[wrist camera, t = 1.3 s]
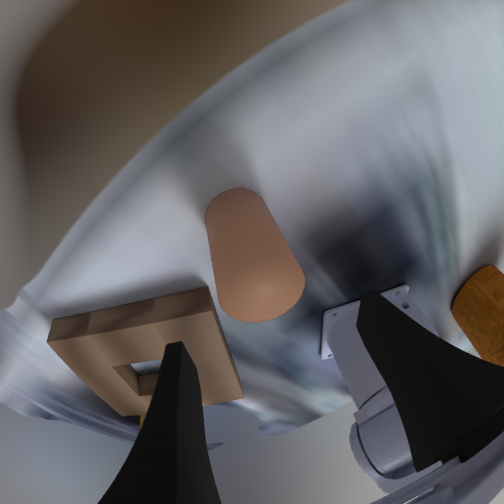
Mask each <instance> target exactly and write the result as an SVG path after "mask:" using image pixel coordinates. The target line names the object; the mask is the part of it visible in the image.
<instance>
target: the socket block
mask: <svg viewBox="0 0 504 504" xmlns="http://www.w3.org/2000/svg"><path fill="white" fill-rule="evenodd" d="M179 341H182V342H183V344H184V345H185V347H186V349H187V351H188V353H189V355H190V357H191V359H192V360H193V362H194V364H195V366H196V368H197V371H198V377H199V382H200V387H201V394H202V406H206V405H212V404H217V403H223V402H227V401H232V400H237V399H241V398H244V395H243V390H242V386H241V382H240V378H239V375H238V372H237V369H236V367H235V364H234V361H233V358H232V355H231V353H230V350H229V347H228V344H227V341H226V338H225V335H224V332H223V330H222V327H221V324H220V321H219V318H218V315H217V312H216V309H215V306H214V303H213V299H212V296H211V293H210V290H209V287H208V286H206V287H202V288H198V289H193V290H189V291H185V292H180V293H176V294H172V295H167V296H163V297H158V298H154V299H149V300H145V301H140V302H136V303H131V304H126V305H122V306H117V307H112V308H108V309H103V310H98V311H93V312H88V313H84V314H79V315H74V316H69V317H64V318H59V319H54V320H53V322H52V325H51V329H50V332H49V335H48V339H47V343H48V344H49V346H50V347H51V348H52V349H53V350H54V351H55V352H56V353H57V355H58V356H59V357H60V358H61V359H62V360H63V361H64V362H65V363H66V364H67V365H68V366H69V367H70V368H71V370H72V371H73V372H74V373H75V374H76V375H77V376H78V377H79V378H80V379H81V380H82V381H83V382H84V383H85V384H87V385H88V386H89V387H90V388H91V389H92V390H93V391H94V392H95V393H96V394H97V395H98V396H99V397H100V398H102V399H103V400H104V401H105V402H106V403H107V404H108V405H109V406H111V407H112V408H113V409H114V410H115V411H116V412H118V413H119V414H120V415H121V416H133V415H143V414H146V413H147V410H148V407H149V404H150V401H151V398H152V395H153V392H154V388H155V385H156V382H157V378H158V375H159V373H154V374H147V375H141V376H139V375H138V373H137V372H136V371H135V370H134V369H133V367H132V366H131V365H130V364H133V363H139V362H145V361H151V360H157V359H163V355H164V350H165V346H166V345H167V344H168V343H174V342H179Z"/></svg>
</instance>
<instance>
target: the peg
mask: <svg viewBox="0 0 504 504" xmlns="http://www.w3.org/2000/svg"><path fill="white" fill-rule="evenodd" d="M205 222H206V228H207V235H208V241H209V247H210V253H211V260H212V266H213V271H214V277H215V283H216V289H217V294H218V300H219V304H220V306H221V308H222V309H223V311H224V312H225V313H226V314H228V315H229V316H230V317H232V318H234V319H237V320H240V321H245V322H261V321H266V320H270V319H273V318H275V317H278V316H280V315H282V314H283V313H285V312H287V311H288V310H289V309H290V308H292V307H293V306H294V305H295V304H296V302H297V301H298V300H299V299H300V297H301V295H302V293H303V290H304V287H305V277H304V273H303V271H302V269H301V267H300V265H299V264H298V262H297V260H296V258H295V256H294V254H293V253H292V251H291V249H290V247H289V245H288V244H287V242H286V240H285V238H284V236H283V234H282V233H281V231H280V229H279V227H278V225H277V224H276V222H275V220H274V218H273V217H272V215H271V213H270V211H269V209H268V208H267V206H266V204H265V202H264V201H263V199H262V198H261V197H260V196H259V195H258V194H256V193H255V192H253V191H250V190H247V189H231V190H227V191H225V192H223V193H221V194H219V195H218V196H217V197H216V198H214V199H213V201H212V202H211V203H210V205H209V206H208V209H207V211H206V216H205Z"/></svg>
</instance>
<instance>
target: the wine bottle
mask: <svg viewBox="0 0 504 504" xmlns="http://www.w3.org/2000/svg"><path fill="white" fill-rule="evenodd" d="M452 314H453V317H454V319H455V320H456V322H457V323H458V325H459V326H460V328H461V329H462V330H463V332H464V333H465V335H466V336H467V338H468V339H469V341H470V342H471V343H472V345H473V346H474V348H475V349H476V351H477V352H478V354H479V355H480V357H481V358H482V359H483V360H485V361H488V362H491V363H493V364H496V365H500V366H503V367H504V274H503V273H502V272H501V271H500V270H499V269H497V268H496V267H494V266H490V265H489V266H485V267H483V268H481V269H479V270H478V271H477V272H476V273H474V274H473V275H472V276H471V277H470V278H469V279H468V280H467V282H466V283H465V284H464V285H463V287H462V288H461V290H460V291H459V293H458V294H457V296H456V298H455V300H454V303H453V307H452Z"/></svg>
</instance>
